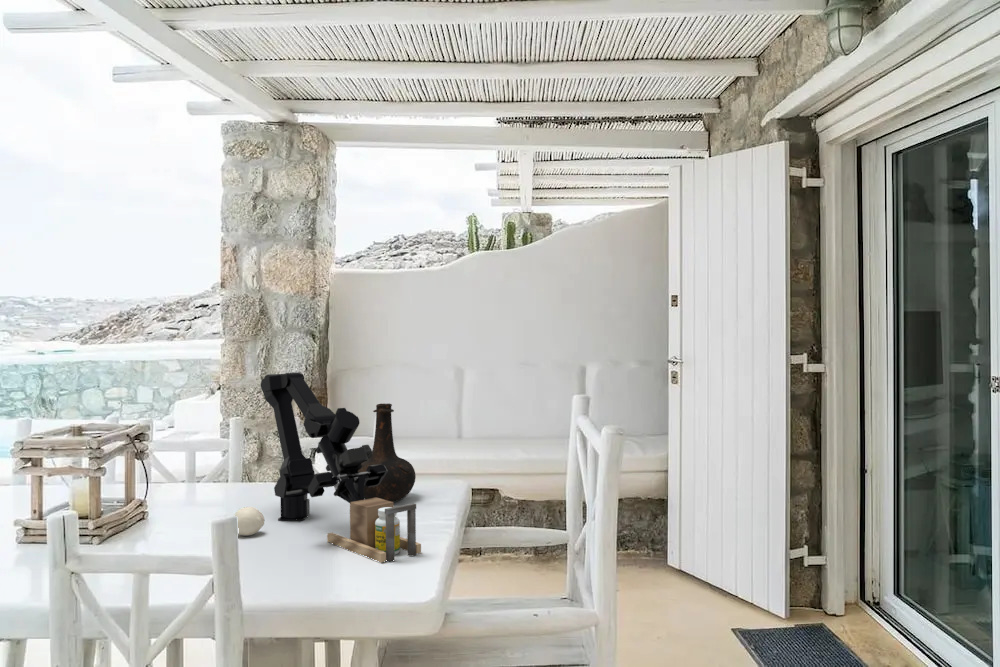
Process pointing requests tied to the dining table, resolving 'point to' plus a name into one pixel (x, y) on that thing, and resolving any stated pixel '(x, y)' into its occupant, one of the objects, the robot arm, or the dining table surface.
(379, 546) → the supplement bottle
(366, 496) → the glass bottle
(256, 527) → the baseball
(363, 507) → the block
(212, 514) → the dining table surface
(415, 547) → the channel
